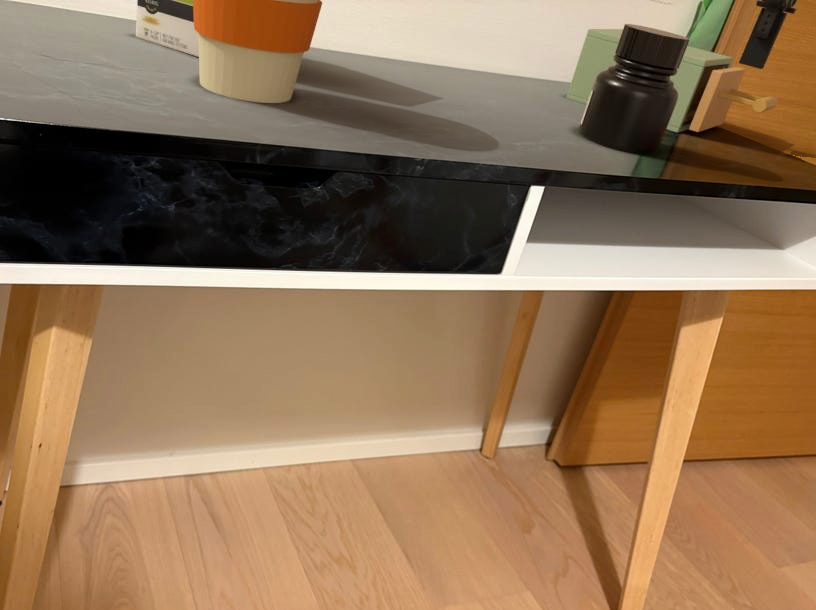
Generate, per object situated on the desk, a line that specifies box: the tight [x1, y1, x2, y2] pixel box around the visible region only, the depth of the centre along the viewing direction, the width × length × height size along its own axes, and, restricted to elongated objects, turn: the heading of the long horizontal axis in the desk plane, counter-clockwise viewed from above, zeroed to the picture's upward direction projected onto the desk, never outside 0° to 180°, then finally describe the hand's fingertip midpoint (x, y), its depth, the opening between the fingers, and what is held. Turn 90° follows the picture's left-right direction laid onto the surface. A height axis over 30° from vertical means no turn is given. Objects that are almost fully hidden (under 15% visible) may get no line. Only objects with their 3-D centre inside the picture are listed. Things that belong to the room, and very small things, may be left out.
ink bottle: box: [578, 23, 690, 156], centre depth 87 cm, size 10×9×12 cm
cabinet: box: [566, 28, 734, 134], centre depth 108 cm, size 16×14×9 cm
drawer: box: [683, 65, 779, 133], centre depth 106 cm, size 20×12×7 cm, turn 52°
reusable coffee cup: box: [193, 0, 323, 104], centre depth 75 cm, size 13×12×15 cm
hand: (750, 65), depth 100 cm, fingers closed
